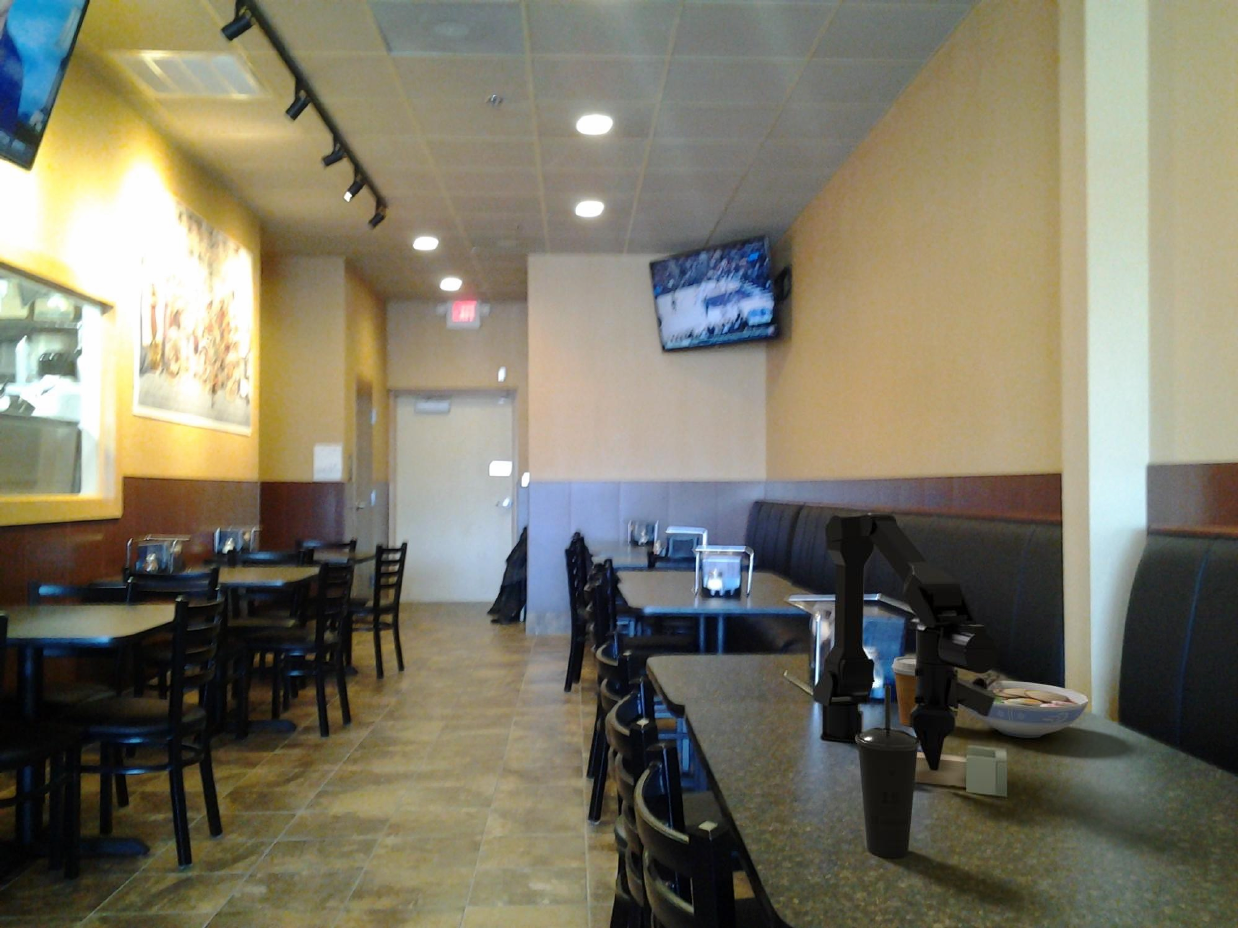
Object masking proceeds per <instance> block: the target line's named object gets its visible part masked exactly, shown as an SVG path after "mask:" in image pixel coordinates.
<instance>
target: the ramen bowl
mask: <svg viewBox="0 0 1238 928" xmlns="http://www.w3.org/2000/svg"><path fill="white" fill-rule="evenodd" d="M990 677H992V673H991V672H986V673H985V676H984V677H982V678H983V679H986V680H987V687H988V690H993V692H994V693H995V694H996V698H995V701H994V703H993V705H992V708H991V710H990V713H989V715H988V717H985V716H982V715H980V714H978V712H976V711H974V710H972V709H969V708H967V707H965V706H964V708H965V709H966V710H967V712H968V713H969V714H970V715H971V716H973V717H974V718H975V719H976V720H978V721H980V722H981V723H983V724H985V725H986V726H988V727H991V728H993V729H996V730H997V731H998V732H1000V733H1002V734H1003V735H1006V736H1011V737H1017V738H1024V739H1025V738H1027V739H1028V738H1030V739H1031V738H1032V739H1033V738H1040V737H1042V736H1044V735H1047V734H1051V733H1054V732H1058V731H1061V730H1064V729H1065V728H1067V727H1068V726H1070V725H1072V724H1073V723H1075V722H1076V721H1077V720H1078V719H1079V718H1080V717H1081V715H1082V714H1083V712H1084V711H1085V710H1086V708H1087V707H1088V704H1089V703H1090V699H1089V698H1088V696H1087V695H1086V694H1083V693H1080V692H1077V691H1076V690H1073V689H1070V688H1069V689H1068V688H1065V687H1060V686H1054V685H1049V684H1044V683H1043V684H1041V683H1035V682H1027V681H1025V682H1024V681H1015V680H1014V681H1013V680H1011V681H1010V680H999V679H1000V678H1001V674H1000V673H996V674H995V675H994V676H993V677H992V678H991V679H990V680H989V678H990Z"/></svg>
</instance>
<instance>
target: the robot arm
mask: <svg viewBox="0 0 1238 928" xmlns="http://www.w3.org/2000/svg"><path fill="white" fill-rule="evenodd" d="M824 533H825V535H824V536H825V541H826V550H827V552H828V554H829V555H830V557H831V559H832V560H833V562H834V565H835V576H834V577H835V581H834V582H835V586H834V590H835V591H834V592H835V593H834V625H833V627H834V628H833V629H834V631H833V632H834V633H833V637H834V639H833V641H834V642H833V646H832V648H831V649H830V651H829V652H828V654H827V656H826V657H825V659H824V661H823V662H824V663H823V673H822V675H821V676H820V677H819V679H818V680H817V682H816V683H815V685H814V687H813V688H812V694H813V700H814V702H816V703H817V704H818V703H819V704H820V705H822V707H821V708H822V709H821V710H822V711H821V712H822V713H821V715H822V717H821V718H822V719H821V720H822V721H821V727H822V729H821V731H822V733H821V734H820V737H819V738H820V739H821V740H828V741H829V740H830V741H837V742H838V741H839V742H846V743H847V742H848V743H857V742H856V739H855V737H856V735H857V734H858V733H861V732H864V711H863V710H861V705H862V704H866V705H869V703H870V699H871V694H872V690H873V685H874V683H875V682H876V680H875V674H874V671H875V661H874V659H873V658H869V656H868V655H867V652H866V651H865V649H864V646H863V645H864V603H865V602H864V601H865V597H864V596H865V566H866V564H867V563H868V561H869V559H870V558H871V556H872V554H873V553H874V551H875V547H876V548H877V549H878V551H879V552H880V554H881V556H883V558H884V559H885V560H886V561H887V563H888V564H889V565H890V567H891V568H892V569H893V570H894V572H895V574H896V575H897V576H898V577H899V578H900V580H901V581H902V583H903V591H902V592H903V597H904V598H905V601H906V602H907V604H908V605H909V608H910V610H911V611H912V613H913V614H914V615H915V617H914V618H913V619H911V620H910V621H909V622H908V623H907V627H908V628H910V629H914V630H916V631H915V633H916V634H915V643H916V644H915V657H916V668H915V676H916V695H915V703H917V705H916V706H915V707H914V708H913V709H912V710H911V713H910V728H912V730H913V731H914V733H915V737H916V738H918V739H919V740H920V748H921V750H922V753H924V756H925V758H926V760H927V763H928V765H929V768H930V770H934V771H937V770H938V768H939V763H940V758H941V754H942V753H943V747H944V742H945V739H946V738H948V736H950V735H952V734H953V733H954V732H956V727H957V726H956V723H957V722H956V721H957V720H956V719H957V716H958V711H957V710H958V709H959V705H960V706H963V707H964V708H965V707H967V708H969V709H972V710H974V711H976V712H978V714H980V715H982V716H985V717H988V715H989V713H990V710H991V708H992V705H993V703H994V701H995V698H996V694H995V693H994V692H993V690H988V687H987V681H988V679H987V680H986V679H983V678H984V677H981V676H979V675H977V676H975V677H974V678H973V679H972V680H969V679H963V678H961V677H959V670H958V669H960V670H964V671H968V672H971V673H976V674H980V675H981V674H987V673H989V671H991V670H992V668H993V667H994V666H995V664H996V663H997V660H998V655H999V654H998V648H997V647H996V644H995V641H994V640H993V638H992V637H991V636H990V635H988V634H987V633H986V630H987V628H986V626H985V625H982V624H978V623H977V620H976V618H975V614H974V612H973V611H972V609H971V607H970V605H969V604H968V601H967V598H966V596H965V594H964V591H963V588H962V587H961V585H960V584H959V582H958V581H957V580H955V578H953V577H952V576H951V575H949V574H948V573H947V572H946V571H944V570H941V569H940V568H937V567H935V566H933V565H932V564H930V563H929V562H928V560H927V559H926V558H925V557H924V556H923V555H922V553H921V552H920V551H919V550H918V548H917V547H916V546H915V545H914V544H913V542H912V541H911V540H910V539H909V537H908V536H907V535H906V534H905V532H904V531H903V529H901V528H900V526H899V525H898V523H897V519H896V518H895V516H894V515H893V514H890V513H889V512H868V513H866V514H862V515H859V514H857V515H851V514H850V515H847V514H846V515H845V514H844V515H839V514H838V515H837V514H836V515H833V516H832V517H831V518H830V519H829V521H827V522H826V525H825V529H824ZM952 708H954V709H955V710H954V709H952Z"/></svg>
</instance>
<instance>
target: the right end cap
mask: <svg viewBox="0 0 1238 928" xmlns="http://www.w3.org/2000/svg"><path fill="white" fill-rule="evenodd" d="M966 748H967V749H966V756H965V757H966V787H965V788H966V789H965V790H966V791H965V792H966V793H972V794H980V795H981V794H982V795H988V796H989V795H991V796H996V797H997V796H998V797H1004V798H1006V797H1008V790H1007V789H1008V787H1007V786H1008V776H1007V775H1008V771H1007V770H1008V760H1007V759H1008V758H1007V748H1000V747H993V746H992V747H991V746H983V745H982V746H981V745H972V744H967V746H966Z"/></svg>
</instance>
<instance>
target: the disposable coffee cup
mask: <svg viewBox="0 0 1238 928" xmlns="http://www.w3.org/2000/svg"><path fill="white" fill-rule="evenodd" d="M891 668H892V670H893V672H894V680H895V689H896V696H897V697H896V698H897V704H898V714H899V721H900V724H901V725H903V726H905V727H910V713H911V710H912V709H913V708H914V707H915V706H916V705H917V703H915V695H916V676H915V668H916V656H900V657H899V656H898V657H895V658H894V659H893V664H891ZM910 728H911V727H910Z"/></svg>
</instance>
